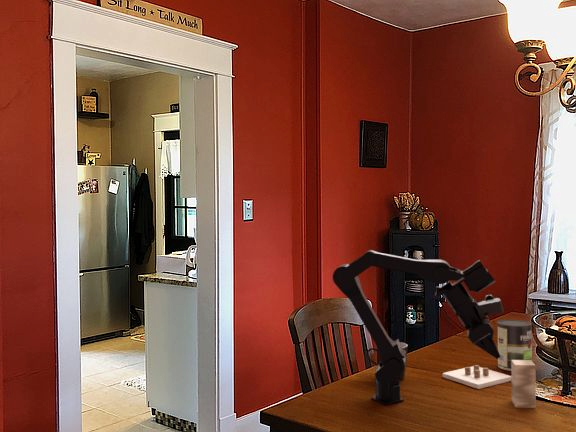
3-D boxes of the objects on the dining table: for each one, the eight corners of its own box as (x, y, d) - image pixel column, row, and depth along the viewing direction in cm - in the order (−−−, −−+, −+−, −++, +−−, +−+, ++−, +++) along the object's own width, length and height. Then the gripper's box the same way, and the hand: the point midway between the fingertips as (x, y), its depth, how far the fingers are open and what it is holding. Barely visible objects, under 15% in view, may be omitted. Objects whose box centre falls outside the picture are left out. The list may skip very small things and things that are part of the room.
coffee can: (538, 367, 199) (538, 322, 199) (521, 373, 192) (521, 327, 192) (508, 361, 207) (507, 318, 206) (491, 367, 200) (490, 322, 200)
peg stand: (442, 377, 191) (442, 366, 191) (475, 369, 198) (475, 359, 198) (478, 388, 179) (478, 377, 179) (512, 380, 186) (512, 369, 186)
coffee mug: (413, 377, 191) (413, 344, 191) (397, 384, 185) (397, 350, 184) (381, 370, 199) (381, 339, 199) (365, 376, 193) (364, 344, 192)
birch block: (515, 407, 163) (514, 364, 163) (511, 400, 168) (511, 359, 168) (535, 407, 162) (535, 365, 162) (531, 401, 167) (531, 360, 167)
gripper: (491, 291, 155) (529, 345, 153) (485, 280, 173) (519, 328, 172) (452, 315, 157) (489, 369, 156) (450, 302, 175) (483, 350, 174)
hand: (496, 353), depth 164 cm, fingers open, 9 cm apart
